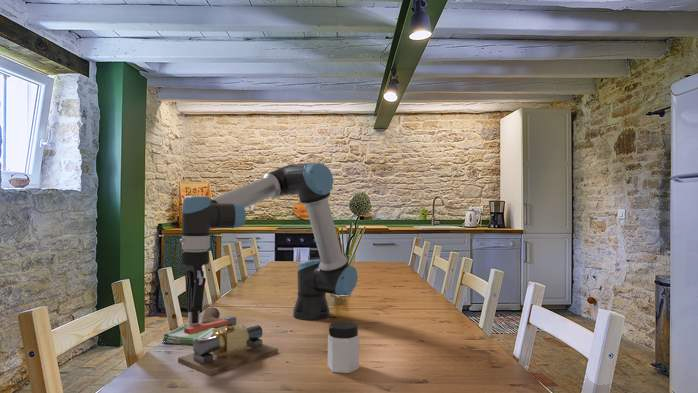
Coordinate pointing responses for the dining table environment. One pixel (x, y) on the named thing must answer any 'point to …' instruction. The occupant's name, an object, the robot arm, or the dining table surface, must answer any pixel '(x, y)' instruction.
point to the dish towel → (186, 336)
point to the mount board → (228, 360)
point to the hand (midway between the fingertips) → (193, 333)
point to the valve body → (227, 342)
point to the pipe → (211, 316)
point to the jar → (343, 347)
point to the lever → (210, 325)
